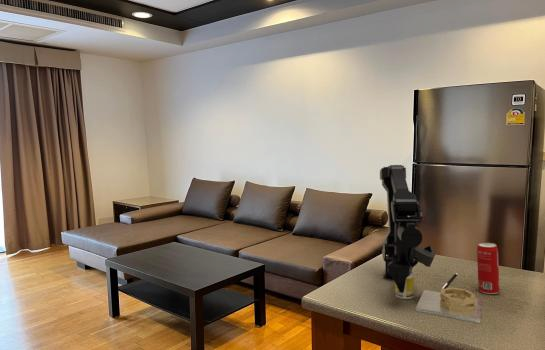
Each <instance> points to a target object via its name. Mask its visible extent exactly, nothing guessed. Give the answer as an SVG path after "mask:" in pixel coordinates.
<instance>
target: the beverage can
mask: <svg viewBox="0 0 545 350" xmlns="http://www.w3.org/2000/svg"><path fill="white" fill-rule="evenodd" d="M476 257H477V258H476V260H477V261H476V262H477V283H478V286H477V287H478V290H479V292H481V293H483V294H487V295H497V294H499V292H500V289H501V288H500V268H499V265H500V264H499V263H500V262H499V248H498V246H497V244H496V243H493V242H480V243H477V247H476Z"/></svg>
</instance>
